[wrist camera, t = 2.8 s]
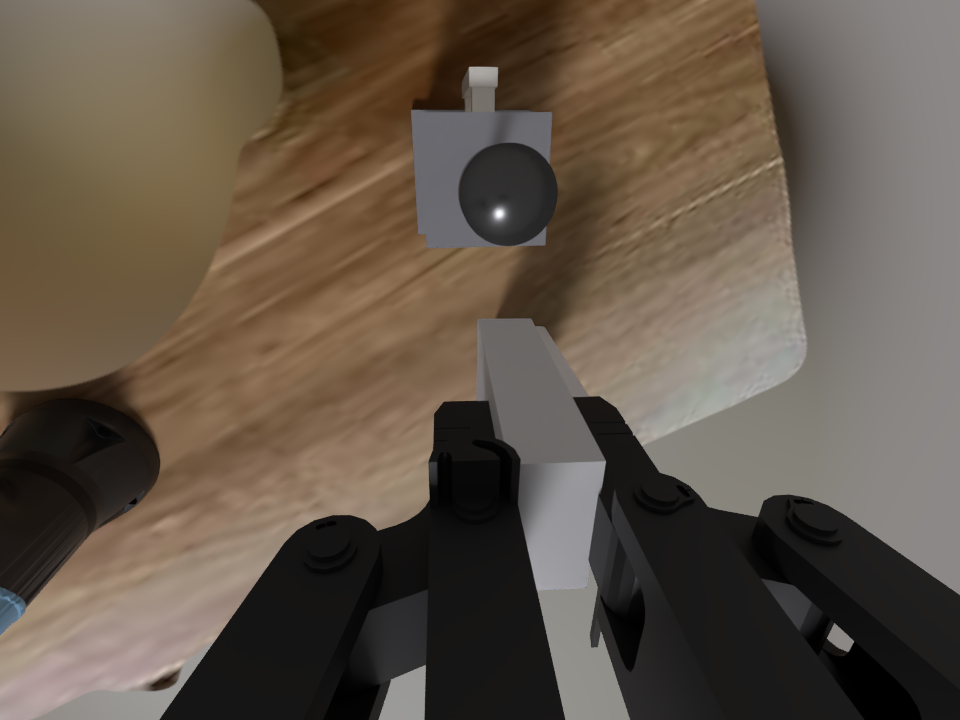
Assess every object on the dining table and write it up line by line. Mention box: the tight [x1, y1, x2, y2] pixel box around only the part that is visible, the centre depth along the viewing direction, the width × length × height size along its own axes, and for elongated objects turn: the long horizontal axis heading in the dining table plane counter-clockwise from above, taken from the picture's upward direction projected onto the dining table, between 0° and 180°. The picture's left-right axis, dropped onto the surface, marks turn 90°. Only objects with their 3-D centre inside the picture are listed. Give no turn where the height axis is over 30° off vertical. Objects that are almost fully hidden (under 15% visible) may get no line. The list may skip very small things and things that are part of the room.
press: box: [411, 67, 552, 248], centre depth 39 cm, size 11×13×14 cm
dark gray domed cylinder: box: [458, 142, 557, 246], centre depth 30 cm, size 6×6×14 cm
